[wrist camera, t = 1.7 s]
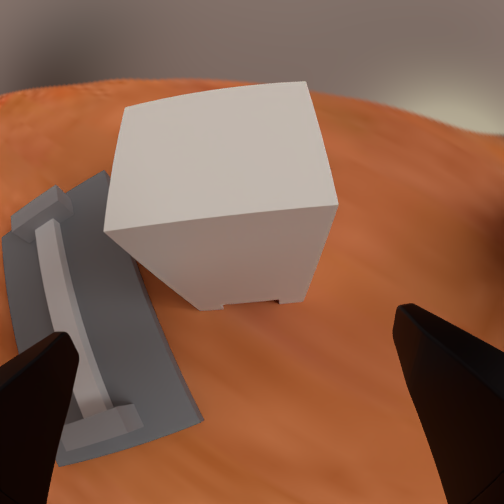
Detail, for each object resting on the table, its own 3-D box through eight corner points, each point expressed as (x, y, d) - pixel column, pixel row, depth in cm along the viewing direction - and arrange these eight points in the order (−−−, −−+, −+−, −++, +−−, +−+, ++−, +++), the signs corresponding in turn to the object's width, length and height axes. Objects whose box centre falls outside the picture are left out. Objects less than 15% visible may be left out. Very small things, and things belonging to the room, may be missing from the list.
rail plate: (204, 420, 18) (190, 429, 15) (66, 464, 17) (39, 473, 13) (109, 176, 25) (91, 153, 21) (8, 241, 23) (-15, 227, 20)
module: (303, 301, 20) (338, 204, 8) (200, 311, 20) (103, 231, 8) (292, 220, 22) (302, 71, 10) (197, 230, 22) (127, 97, 10)
